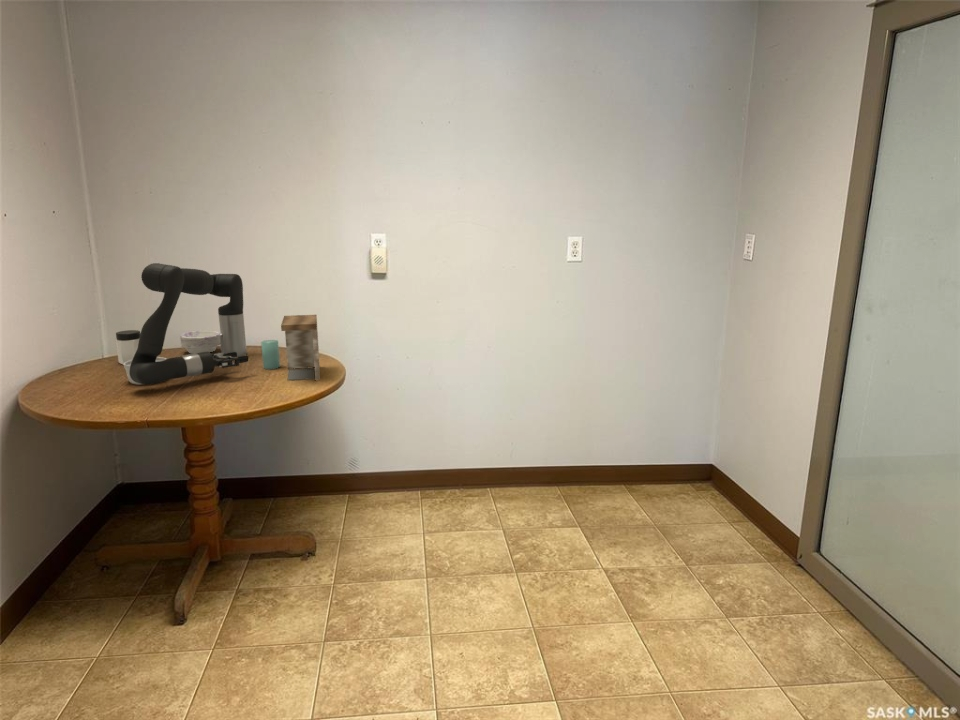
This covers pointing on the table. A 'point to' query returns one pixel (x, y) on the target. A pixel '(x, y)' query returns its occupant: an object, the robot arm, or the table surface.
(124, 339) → the jar
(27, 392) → the table surface
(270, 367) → the teal cylinder
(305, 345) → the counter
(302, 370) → the mat
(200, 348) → the paper bowls
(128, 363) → the ramekin
